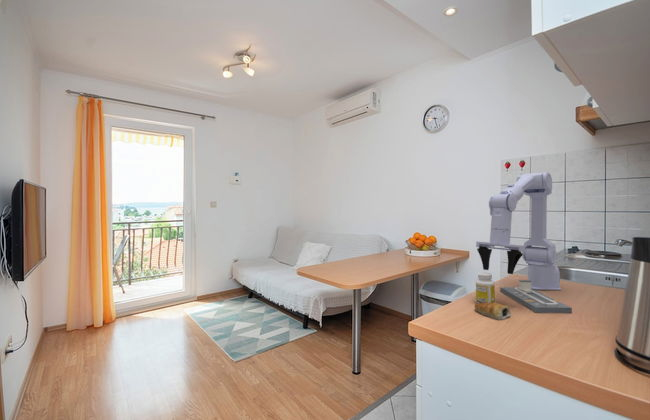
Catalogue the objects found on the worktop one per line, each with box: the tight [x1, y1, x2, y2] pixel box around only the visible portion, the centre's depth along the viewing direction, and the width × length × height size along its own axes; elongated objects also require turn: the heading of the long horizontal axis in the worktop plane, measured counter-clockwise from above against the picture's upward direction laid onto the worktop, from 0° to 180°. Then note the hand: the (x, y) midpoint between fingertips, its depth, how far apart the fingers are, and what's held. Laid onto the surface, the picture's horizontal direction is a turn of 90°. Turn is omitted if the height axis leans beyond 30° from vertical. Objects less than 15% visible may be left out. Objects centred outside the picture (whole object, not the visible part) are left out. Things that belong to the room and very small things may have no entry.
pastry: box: [474, 302, 512, 321], centre depth 90 cm, size 9×7×4 cm
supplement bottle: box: [475, 272, 496, 304], centre depth 99 cm, size 5×5×10 cm
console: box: [499, 286, 573, 314], centre depth 100 cm, size 10×22×2 cm, turn 174°
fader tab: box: [518, 279, 532, 293], centre depth 104 cm, size 3×3×4 cm
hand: (497, 271), depth 98 cm, fingers open, 7 cm apart
